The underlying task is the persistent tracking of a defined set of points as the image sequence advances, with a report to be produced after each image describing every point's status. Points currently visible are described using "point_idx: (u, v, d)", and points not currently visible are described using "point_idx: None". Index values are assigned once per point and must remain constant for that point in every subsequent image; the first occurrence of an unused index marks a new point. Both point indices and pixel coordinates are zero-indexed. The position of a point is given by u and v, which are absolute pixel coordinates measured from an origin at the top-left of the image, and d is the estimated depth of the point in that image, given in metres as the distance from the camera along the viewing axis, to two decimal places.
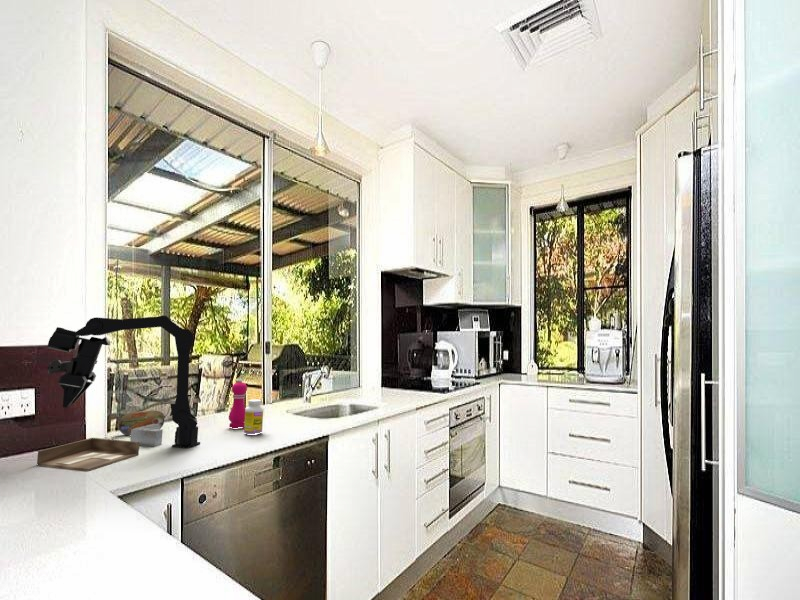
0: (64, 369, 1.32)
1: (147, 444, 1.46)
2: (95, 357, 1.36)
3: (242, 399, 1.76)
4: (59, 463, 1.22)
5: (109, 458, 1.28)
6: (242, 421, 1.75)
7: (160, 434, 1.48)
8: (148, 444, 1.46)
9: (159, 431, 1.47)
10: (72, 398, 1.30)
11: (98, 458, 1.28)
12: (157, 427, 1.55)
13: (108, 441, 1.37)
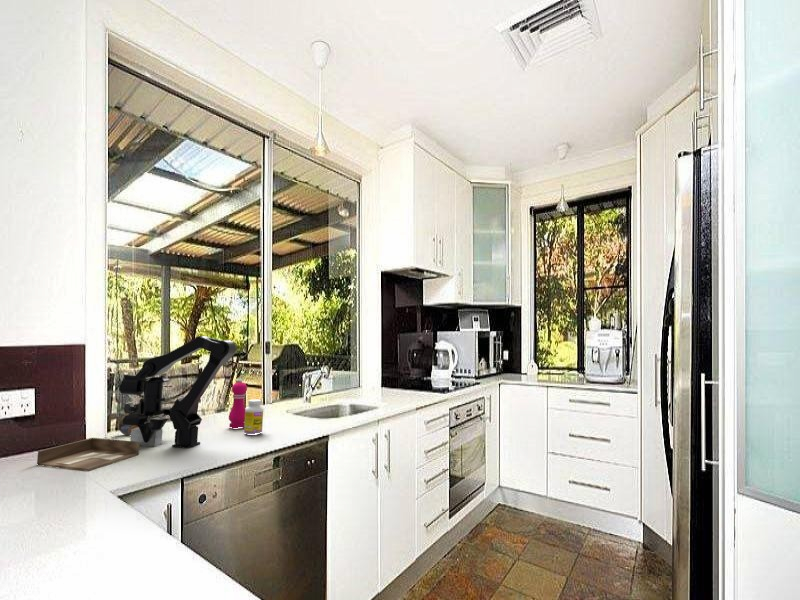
0: (136, 410, 1.47)
1: (147, 444, 1.46)
2: (156, 395, 1.47)
3: (242, 399, 1.76)
4: (59, 463, 1.22)
5: (109, 458, 1.28)
6: (242, 421, 1.75)
7: (160, 434, 1.48)
8: (148, 444, 1.46)
9: (159, 431, 1.47)
10: (147, 434, 1.45)
11: (98, 458, 1.28)
12: None
13: (108, 441, 1.37)
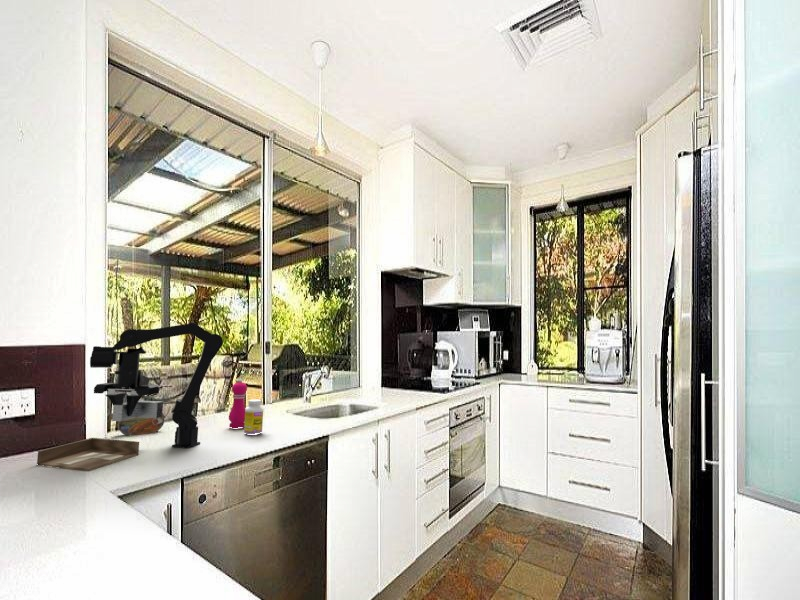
0: None
1: None
2: (119, 367, 1.39)
3: (242, 399, 1.76)
4: (59, 463, 1.22)
5: (109, 458, 1.28)
6: (242, 421, 1.75)
7: (119, 410, 1.36)
8: None
9: (118, 406, 1.37)
10: None
11: (98, 458, 1.28)
12: (153, 405, 1.43)
13: (108, 441, 1.37)
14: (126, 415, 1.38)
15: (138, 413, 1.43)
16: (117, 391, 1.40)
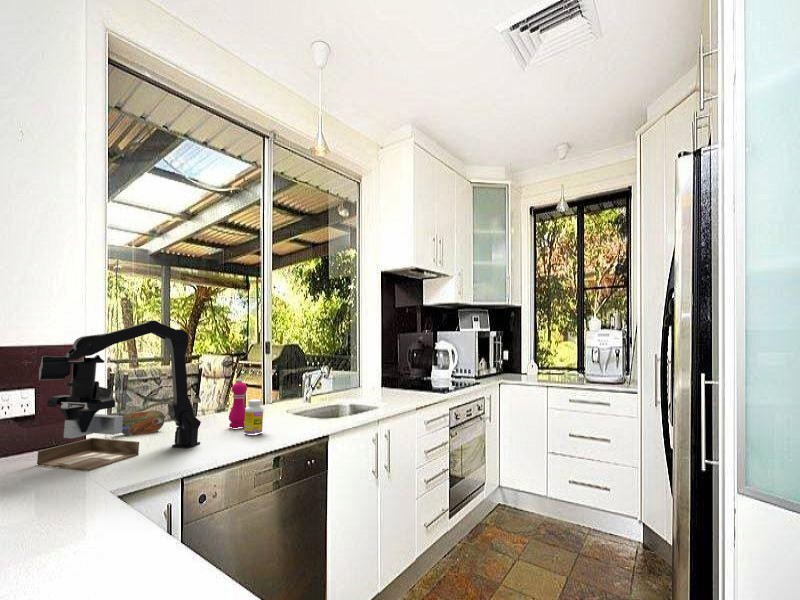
0: None
1: None
2: (72, 378, 1.26)
3: (242, 399, 1.76)
4: (59, 463, 1.22)
5: (109, 458, 1.28)
6: (242, 421, 1.75)
7: (70, 425, 1.23)
8: None
9: (69, 421, 1.24)
10: None
11: (98, 458, 1.28)
12: (110, 420, 1.29)
13: (108, 441, 1.37)
14: (79, 431, 1.25)
15: (96, 429, 1.30)
16: (71, 404, 1.27)
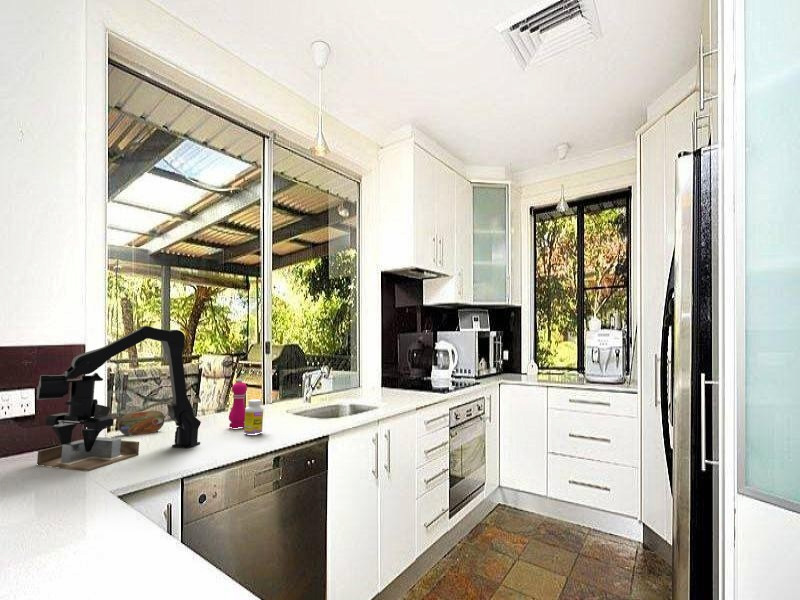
0: None
1: None
2: (70, 397, 1.25)
3: (242, 399, 1.76)
4: (59, 463, 1.22)
5: (109, 458, 1.28)
6: (242, 421, 1.75)
7: (68, 450, 1.23)
8: None
9: (67, 446, 1.23)
10: None
11: (98, 458, 1.28)
12: (108, 443, 1.28)
13: None
14: (77, 455, 1.25)
15: (93, 452, 1.29)
16: (76, 423, 1.26)
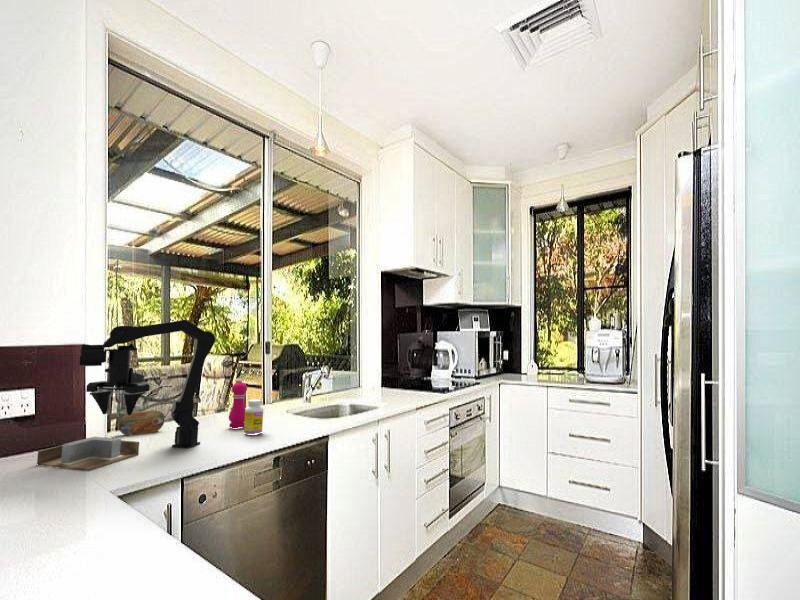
0: None
1: None
2: (109, 365, 1.35)
3: (242, 399, 1.76)
4: (59, 463, 1.22)
5: (109, 458, 1.28)
6: (242, 421, 1.75)
7: (68, 450, 1.23)
8: None
9: (67, 446, 1.23)
10: None
11: (98, 458, 1.28)
12: (108, 443, 1.28)
13: None
14: (77, 455, 1.25)
15: (93, 452, 1.29)
16: (116, 389, 1.36)
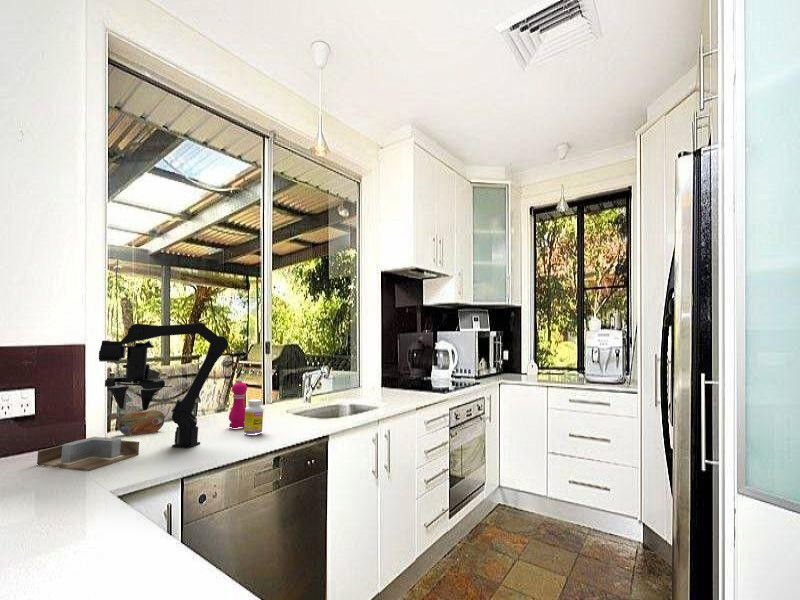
0: None
1: None
2: (127, 361, 1.41)
3: (242, 399, 1.76)
4: (59, 463, 1.22)
5: (109, 458, 1.28)
6: (242, 421, 1.75)
7: (68, 450, 1.23)
8: None
9: (67, 446, 1.23)
10: None
11: (98, 458, 1.28)
12: (108, 443, 1.28)
13: None
14: (77, 455, 1.25)
15: (93, 452, 1.29)
16: None
